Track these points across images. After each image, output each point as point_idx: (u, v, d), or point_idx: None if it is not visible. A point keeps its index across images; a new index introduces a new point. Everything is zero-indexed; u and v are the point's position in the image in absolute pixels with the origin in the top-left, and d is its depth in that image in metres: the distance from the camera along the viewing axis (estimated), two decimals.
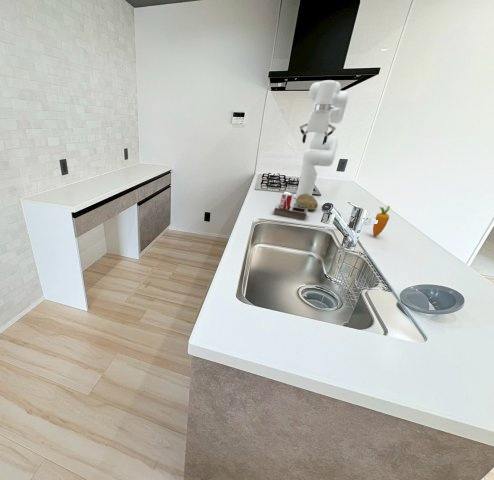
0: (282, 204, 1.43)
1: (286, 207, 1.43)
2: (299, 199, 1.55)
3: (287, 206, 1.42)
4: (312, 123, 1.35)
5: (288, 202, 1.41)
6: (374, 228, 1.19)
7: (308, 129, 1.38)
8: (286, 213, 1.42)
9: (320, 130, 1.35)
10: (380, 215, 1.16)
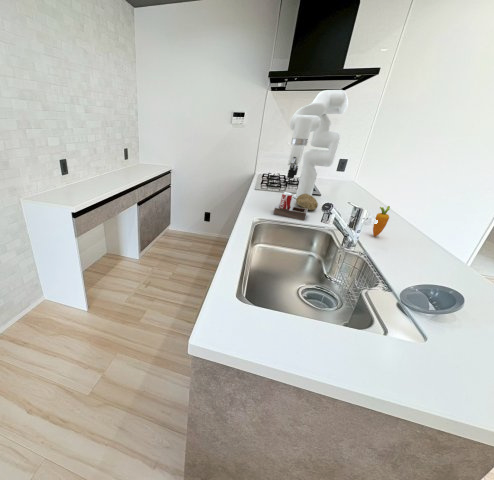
0: (282, 204, 1.43)
1: (286, 207, 1.43)
2: (299, 199, 1.55)
3: (287, 206, 1.42)
4: (300, 157, 1.30)
5: (288, 202, 1.41)
6: (374, 228, 1.19)
7: (298, 164, 1.31)
8: (286, 213, 1.42)
9: (299, 163, 1.35)
10: (380, 215, 1.16)
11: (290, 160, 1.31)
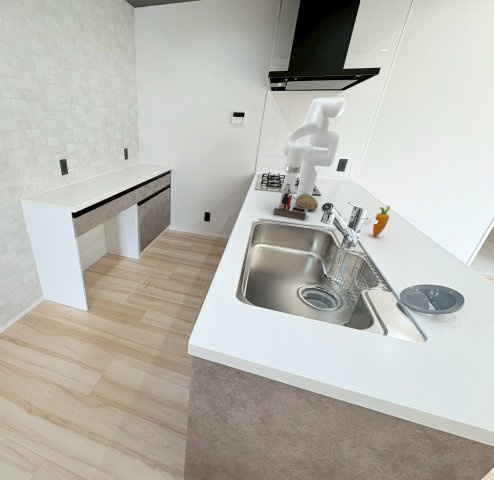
0: (282, 204, 1.43)
1: (286, 207, 1.43)
2: (299, 199, 1.55)
3: (287, 206, 1.42)
4: (293, 184, 1.36)
5: (288, 202, 1.41)
6: (374, 228, 1.19)
7: (291, 190, 1.36)
8: (286, 213, 1.42)
9: None
10: (380, 215, 1.16)
11: (284, 186, 1.37)
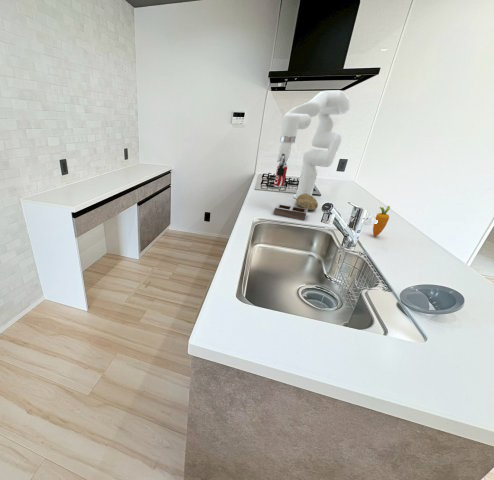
0: (277, 176, 1.44)
1: (281, 179, 1.43)
2: (299, 199, 1.55)
3: (282, 178, 1.43)
4: (288, 154, 1.37)
5: (283, 173, 1.42)
6: (374, 228, 1.19)
7: (286, 160, 1.37)
8: (286, 213, 1.42)
9: (288, 159, 1.42)
10: (380, 215, 1.16)
11: (279, 157, 1.37)
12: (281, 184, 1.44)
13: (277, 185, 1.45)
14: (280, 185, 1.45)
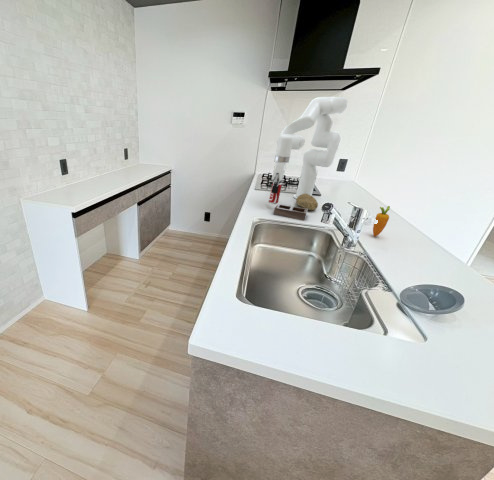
0: (272, 193, 1.49)
1: (276, 196, 1.49)
2: (299, 199, 1.55)
3: (277, 195, 1.49)
4: (282, 173, 1.42)
5: (278, 191, 1.48)
6: (374, 228, 1.19)
7: (280, 179, 1.43)
8: (286, 213, 1.42)
9: (282, 178, 1.47)
10: (380, 215, 1.16)
11: (273, 176, 1.43)
12: (275, 201, 1.50)
13: (272, 202, 1.51)
14: (275, 202, 1.50)
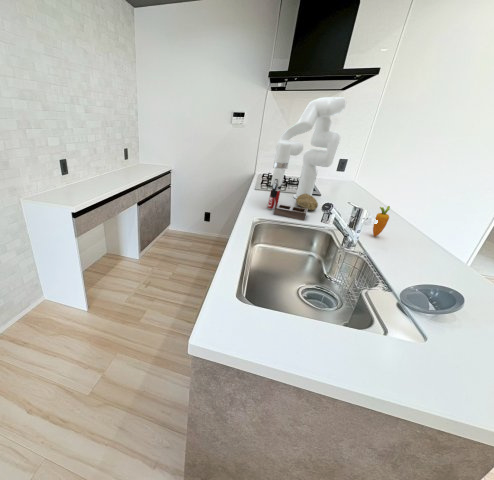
0: (271, 199, 1.51)
1: (274, 202, 1.50)
2: (299, 199, 1.55)
3: (275, 201, 1.50)
4: (281, 179, 1.44)
5: (276, 197, 1.49)
6: (374, 228, 1.19)
7: (279, 185, 1.44)
8: (286, 213, 1.42)
9: (281, 183, 1.49)
10: (380, 215, 1.16)
11: (272, 181, 1.44)
12: (274, 207, 1.52)
13: (271, 208, 1.52)
14: (273, 208, 1.52)
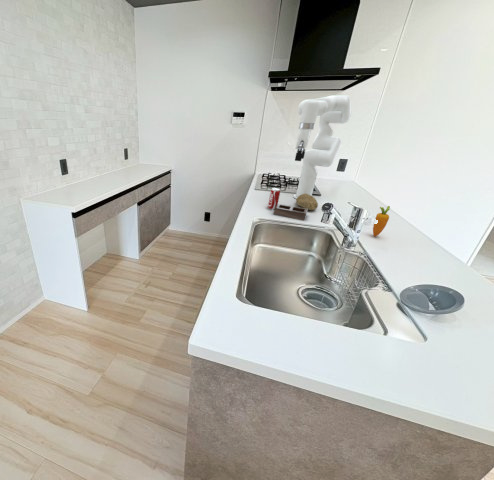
0: (271, 199, 1.51)
1: (274, 202, 1.50)
2: (299, 199, 1.55)
3: (275, 201, 1.50)
4: (307, 141, 1.38)
5: (276, 197, 1.49)
6: (374, 228, 1.19)
7: (305, 147, 1.39)
8: (286, 213, 1.42)
9: (306, 146, 1.43)
10: (380, 215, 1.16)
11: (298, 144, 1.39)
12: (274, 207, 1.52)
13: (271, 208, 1.52)
14: (273, 208, 1.52)
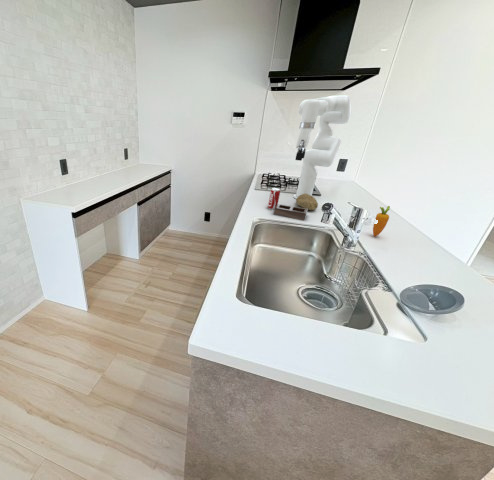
0: (271, 199, 1.51)
1: (274, 202, 1.50)
2: (299, 199, 1.55)
3: (275, 201, 1.50)
4: (308, 140, 1.38)
5: (276, 197, 1.49)
6: (374, 228, 1.19)
7: (305, 146, 1.39)
8: (286, 213, 1.42)
9: None
10: (380, 215, 1.16)
11: (298, 143, 1.39)
12: (274, 207, 1.52)
13: (271, 208, 1.52)
14: (273, 208, 1.52)
